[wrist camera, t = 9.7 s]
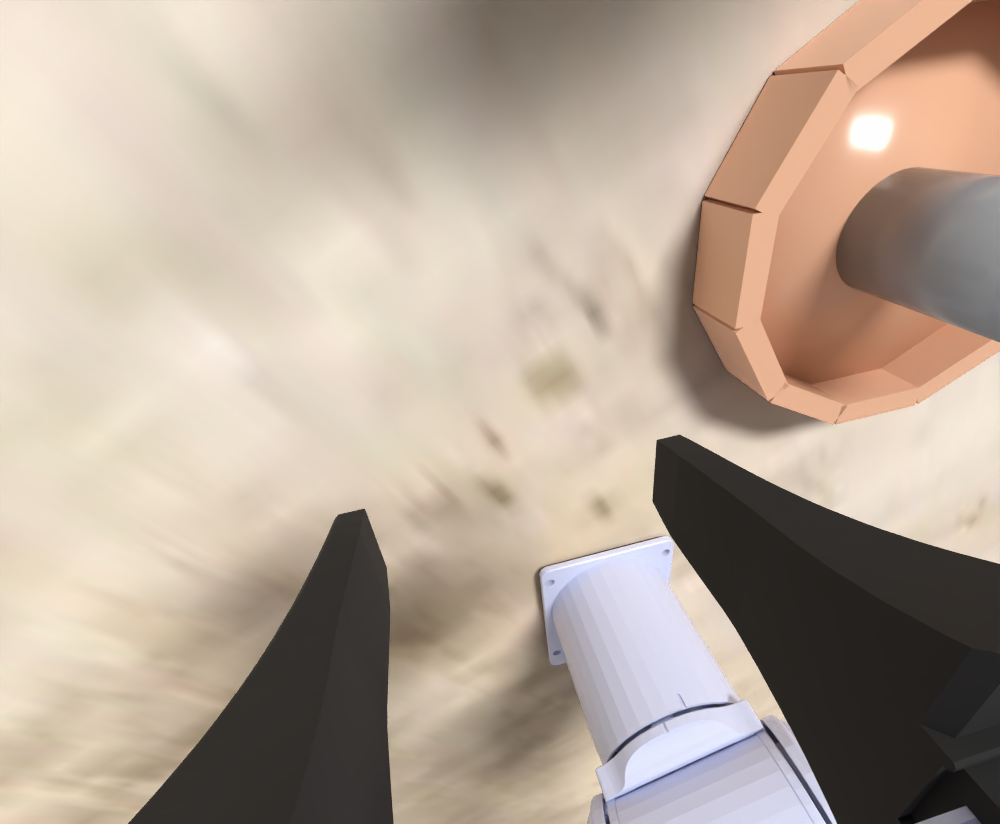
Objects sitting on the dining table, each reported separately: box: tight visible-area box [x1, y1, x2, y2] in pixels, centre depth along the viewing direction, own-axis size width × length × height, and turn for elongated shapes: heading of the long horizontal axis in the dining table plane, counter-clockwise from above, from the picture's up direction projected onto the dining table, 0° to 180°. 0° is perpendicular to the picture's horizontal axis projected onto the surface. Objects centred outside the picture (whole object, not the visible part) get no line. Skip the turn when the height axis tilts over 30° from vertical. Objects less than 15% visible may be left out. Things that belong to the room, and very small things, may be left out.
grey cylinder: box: [836, 167, 1000, 342], centre depth 17 cm, size 5×5×6 cm
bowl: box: [692, 0, 1000, 424], centre depth 19 cm, size 16×16×3 cm
